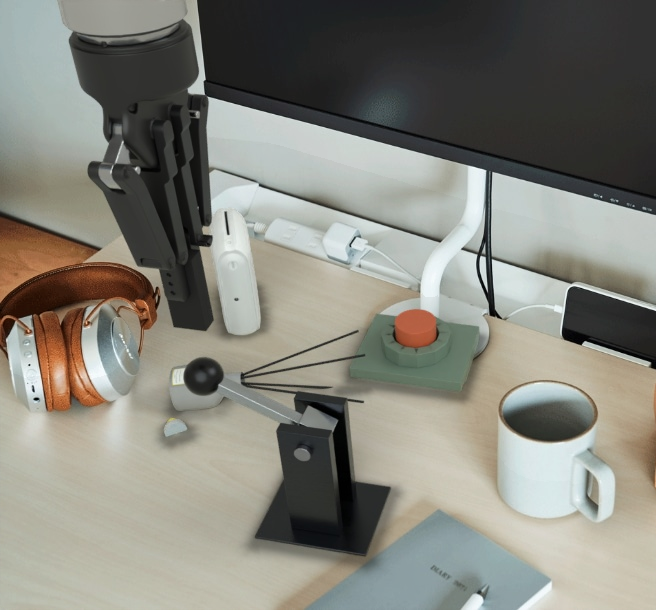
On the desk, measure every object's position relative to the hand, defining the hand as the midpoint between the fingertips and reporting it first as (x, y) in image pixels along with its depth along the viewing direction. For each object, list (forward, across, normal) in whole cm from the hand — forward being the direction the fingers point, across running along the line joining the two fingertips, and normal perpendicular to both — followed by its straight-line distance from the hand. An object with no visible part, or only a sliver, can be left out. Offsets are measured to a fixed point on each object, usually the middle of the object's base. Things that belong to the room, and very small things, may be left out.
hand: (193, 323), depth 72 cm
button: (+17, +24, -11) cm, 31 cm away
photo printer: (+21, +29, +11) cm, 37 cm away
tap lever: (+9, 0, -4) cm, 10 cm away
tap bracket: (+21, 0, -9) cm, 22 cm away
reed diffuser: (+21, +13, +2) cm, 25 cm away
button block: (+21, +24, -11) cm, 33 cm away
